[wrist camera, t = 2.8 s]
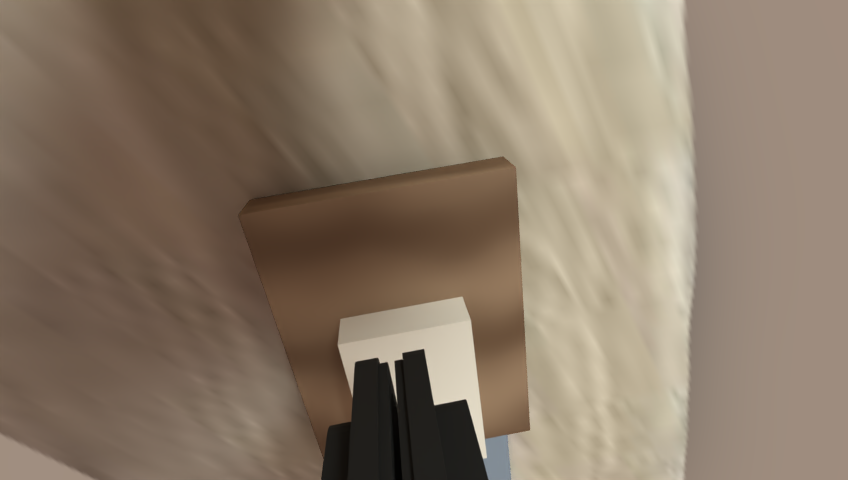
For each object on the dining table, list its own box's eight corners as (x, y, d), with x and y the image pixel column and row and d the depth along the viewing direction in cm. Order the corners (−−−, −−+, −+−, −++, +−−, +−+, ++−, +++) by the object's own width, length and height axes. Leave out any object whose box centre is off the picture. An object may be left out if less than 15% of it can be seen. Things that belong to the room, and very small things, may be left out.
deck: (250, 199, 20) (238, 215, 18) (503, 156, 20) (516, 167, 19) (330, 441, 27) (327, 470, 25) (519, 404, 27) (530, 430, 25)
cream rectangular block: (340, 318, 21) (337, 345, 19) (462, 296, 21) (470, 319, 19) (375, 448, 25) (375, 479, 23) (478, 427, 25) (486, 457, 23)
